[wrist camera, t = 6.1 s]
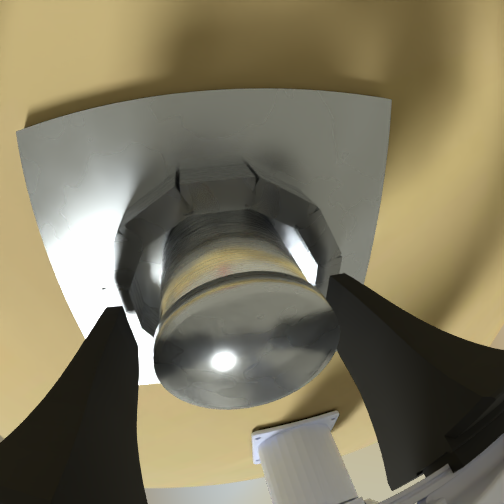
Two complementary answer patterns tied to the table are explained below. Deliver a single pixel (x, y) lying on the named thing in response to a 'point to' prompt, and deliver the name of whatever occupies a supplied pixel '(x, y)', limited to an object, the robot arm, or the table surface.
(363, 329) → the robot arm
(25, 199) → the table surface
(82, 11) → the table surface
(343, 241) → the flange plate
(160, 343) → the round metal knob
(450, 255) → the table surface
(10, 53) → the table surface
